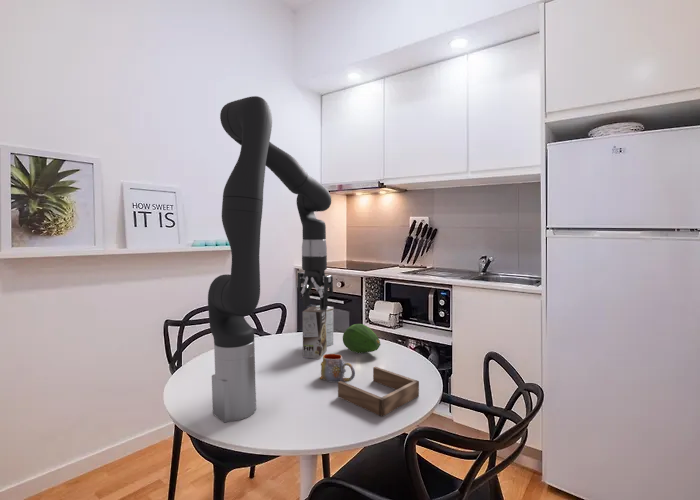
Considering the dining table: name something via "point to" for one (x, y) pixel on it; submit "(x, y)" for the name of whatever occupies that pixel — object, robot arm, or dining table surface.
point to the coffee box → (314, 333)
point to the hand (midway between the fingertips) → (314, 307)
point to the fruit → (360, 339)
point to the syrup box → (329, 325)
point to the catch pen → (386, 404)
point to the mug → (335, 368)
